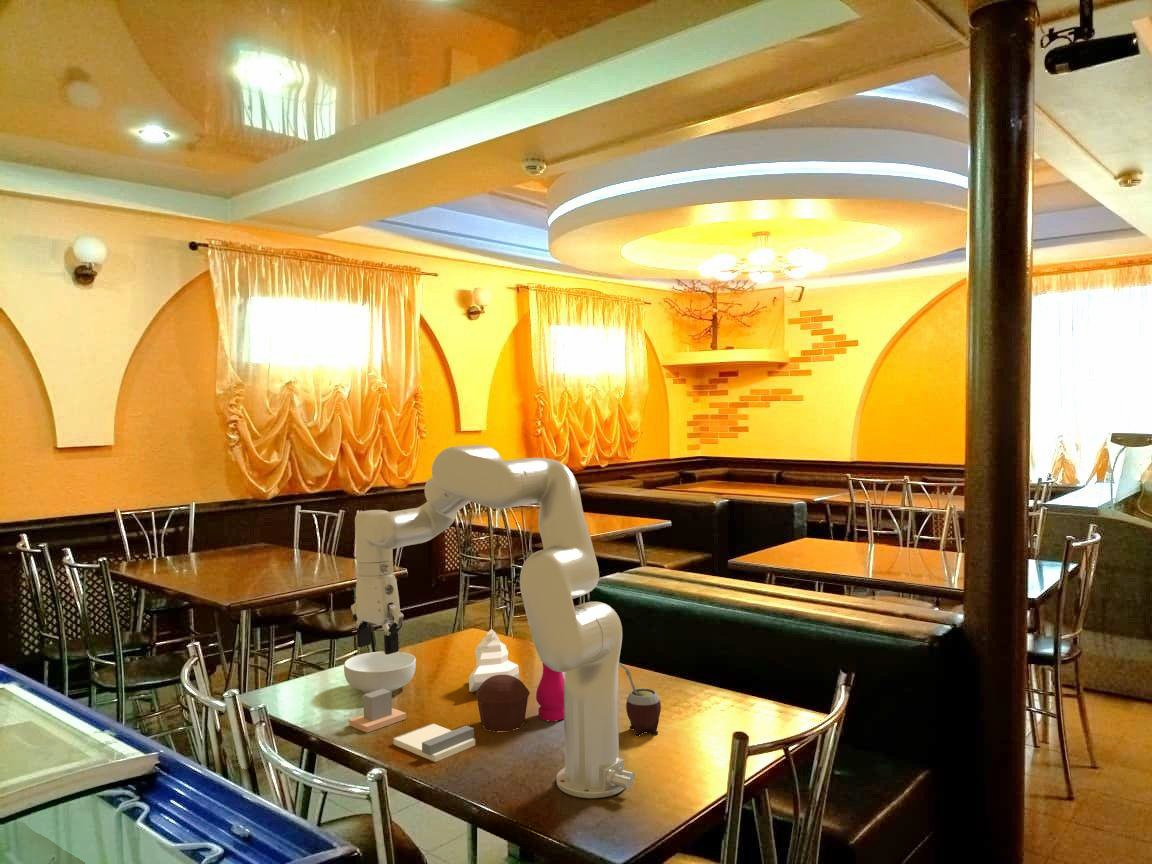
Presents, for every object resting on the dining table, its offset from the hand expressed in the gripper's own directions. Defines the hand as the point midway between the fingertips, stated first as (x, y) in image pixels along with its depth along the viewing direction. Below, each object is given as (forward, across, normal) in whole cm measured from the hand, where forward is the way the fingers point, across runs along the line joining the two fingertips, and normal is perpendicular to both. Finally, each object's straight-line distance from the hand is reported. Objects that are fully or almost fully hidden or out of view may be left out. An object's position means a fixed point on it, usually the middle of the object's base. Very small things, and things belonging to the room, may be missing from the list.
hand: (377, 649), depth 173 cm
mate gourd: (+17, -46, -31) cm, 58 cm away
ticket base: (+16, -18, 0) cm, 24 cm away
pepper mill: (+17, -26, -26) cm, 40 cm away
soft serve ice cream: (+16, -1, -31) cm, 35 cm away
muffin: (+16, -21, -16) cm, 31 cm away
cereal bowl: (+16, +18, -13) cm, 27 cm away
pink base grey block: (+16, +1, 0) cm, 16 cm away
